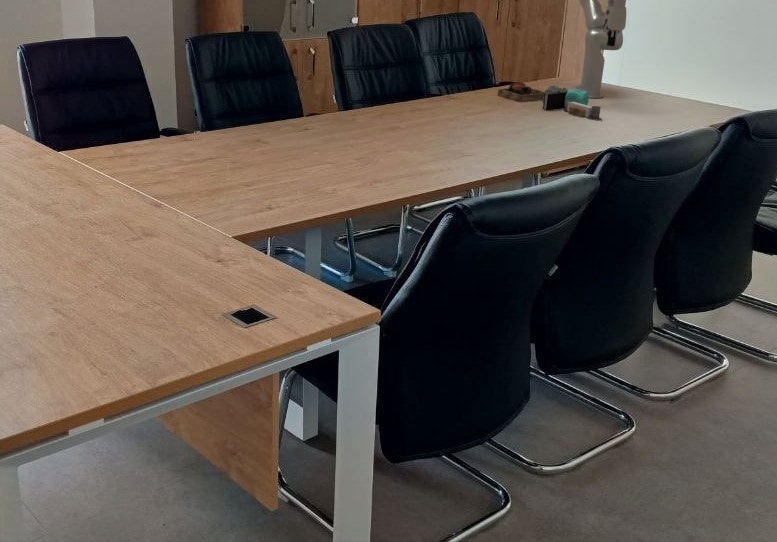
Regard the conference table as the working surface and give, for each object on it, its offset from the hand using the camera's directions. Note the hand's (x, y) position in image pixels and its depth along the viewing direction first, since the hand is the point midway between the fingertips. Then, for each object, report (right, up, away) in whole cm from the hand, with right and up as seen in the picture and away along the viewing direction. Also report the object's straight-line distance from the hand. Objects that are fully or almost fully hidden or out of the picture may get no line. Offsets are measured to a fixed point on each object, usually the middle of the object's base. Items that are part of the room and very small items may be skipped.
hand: (610, 45), depth 407 cm
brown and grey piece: (-14, -34, -15) cm, 40 cm away
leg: (-17, -32, -11) cm, 38 cm away
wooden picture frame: (-36, -20, +18) cm, 45 cm away
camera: (-27, -28, -1) cm, 39 cm away
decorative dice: (-16, -29, 0) cm, 33 cm away
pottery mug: (-39, -21, +17) cm, 47 cm away
